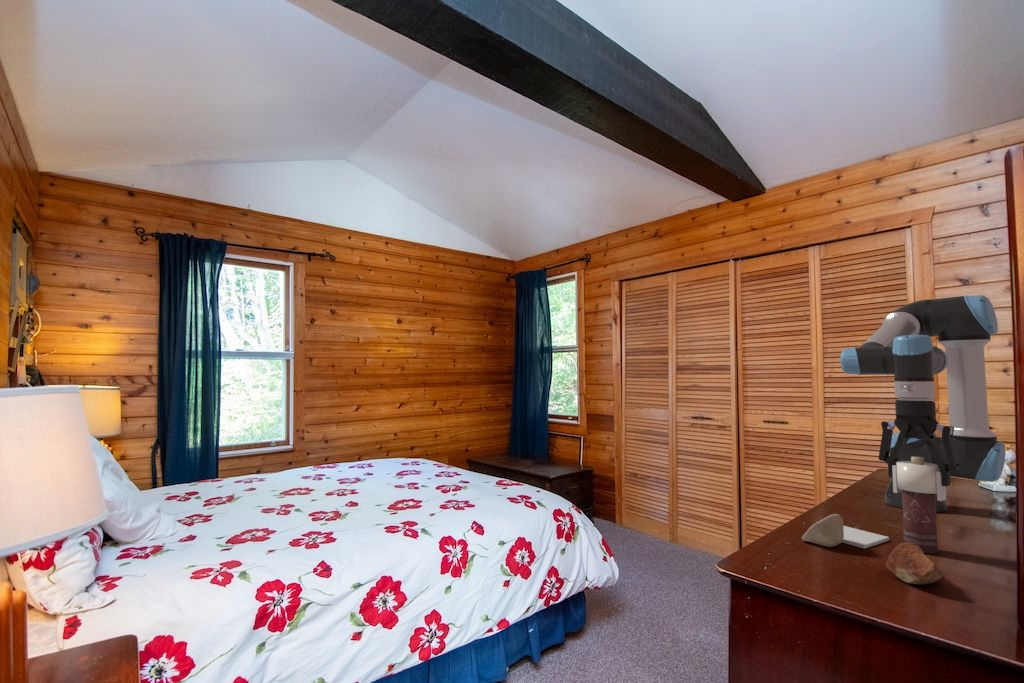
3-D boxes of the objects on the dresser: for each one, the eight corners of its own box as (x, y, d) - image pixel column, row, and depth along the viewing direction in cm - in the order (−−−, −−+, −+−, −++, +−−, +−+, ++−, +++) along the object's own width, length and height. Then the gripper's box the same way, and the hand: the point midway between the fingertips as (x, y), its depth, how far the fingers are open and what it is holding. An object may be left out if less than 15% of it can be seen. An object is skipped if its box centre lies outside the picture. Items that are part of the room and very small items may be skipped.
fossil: (888, 546, 109) (910, 516, 104) (933, 572, 104) (959, 542, 99) (874, 583, 101) (898, 552, 96) (922, 613, 96) (950, 582, 91)
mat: (837, 527, 134) (837, 524, 134) (889, 540, 124) (889, 537, 124) (812, 534, 128) (812, 531, 128) (864, 548, 118) (864, 545, 118)
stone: (803, 540, 127) (826, 509, 127) (830, 560, 122) (854, 527, 122) (799, 537, 119) (823, 503, 119) (828, 557, 114) (853, 522, 114)
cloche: (906, 484, 123) (905, 453, 124) (947, 491, 117) (945, 458, 117) (891, 488, 119) (889, 456, 120) (931, 495, 113) (930, 461, 113)
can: (945, 555, 114) (942, 493, 114) (913, 553, 115) (910, 491, 116) (928, 546, 119) (926, 487, 120) (899, 544, 121) (896, 485, 122)
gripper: (858, 397, 126) (862, 488, 125) (963, 402, 108) (969, 508, 107) (873, 397, 130) (877, 485, 129) (977, 401, 112) (983, 503, 111)
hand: (919, 495), depth 118 cm, fingers closed on cloche, 8 cm apart
